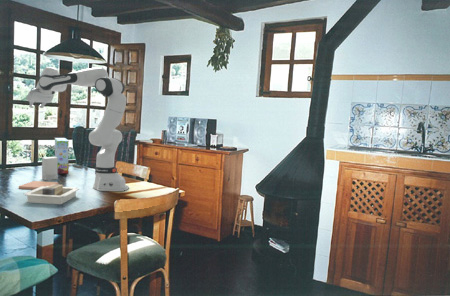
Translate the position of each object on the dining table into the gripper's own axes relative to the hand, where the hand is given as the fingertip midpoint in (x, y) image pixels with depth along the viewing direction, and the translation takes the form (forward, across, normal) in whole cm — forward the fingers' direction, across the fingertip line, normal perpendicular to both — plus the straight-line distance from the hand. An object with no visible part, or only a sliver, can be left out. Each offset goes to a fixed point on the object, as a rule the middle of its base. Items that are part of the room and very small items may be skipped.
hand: (36, 107), depth 216 cm
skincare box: (+42, +1, -29) cm, 50 cm away
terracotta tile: (+37, -20, -36) cm, 56 cm away
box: (+27, -41, -59) cm, 76 cm away
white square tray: (+27, -41, -59) cm, 76 cm away
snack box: (+47, +31, -18) cm, 59 cm away
